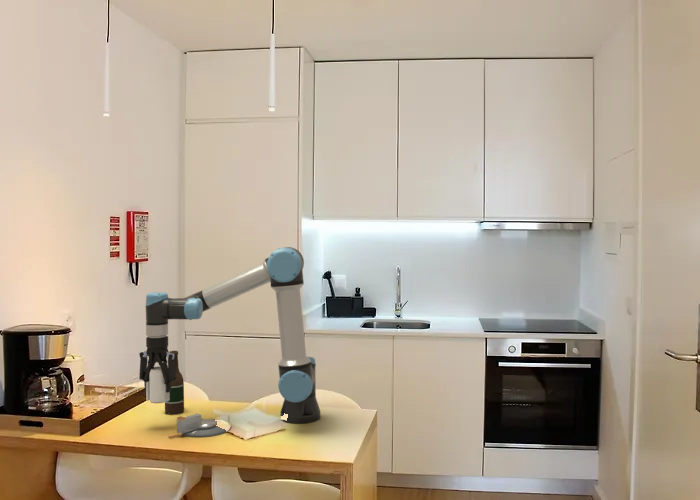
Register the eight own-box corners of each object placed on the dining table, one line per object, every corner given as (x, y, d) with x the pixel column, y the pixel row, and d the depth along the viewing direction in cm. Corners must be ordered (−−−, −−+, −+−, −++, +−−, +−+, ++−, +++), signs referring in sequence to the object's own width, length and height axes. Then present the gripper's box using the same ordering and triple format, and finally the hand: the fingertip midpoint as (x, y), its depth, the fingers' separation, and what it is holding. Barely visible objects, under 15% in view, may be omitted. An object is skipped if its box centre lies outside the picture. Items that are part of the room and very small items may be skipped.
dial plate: (240, 424, 228) (240, 421, 228) (214, 439, 211) (214, 436, 211) (197, 419, 234) (197, 416, 234) (168, 434, 217) (168, 431, 217)
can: (164, 403, 220) (164, 369, 220) (146, 403, 220) (146, 369, 220) (171, 399, 226) (170, 366, 226) (153, 399, 227) (153, 366, 227)
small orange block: (176, 435, 215) (176, 433, 215) (178, 436, 214) (178, 434, 214) (168, 437, 213) (168, 435, 213) (170, 438, 212) (170, 436, 212)
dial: (207, 420, 228) (206, 406, 228) (221, 424, 223) (221, 410, 223) (172, 431, 216) (172, 415, 216) (186, 435, 211) (186, 420, 211)
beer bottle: (187, 409, 248) (186, 349, 247) (180, 415, 240) (179, 353, 239) (168, 409, 248) (167, 349, 248) (160, 414, 241) (160, 353, 240)
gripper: (186, 335, 222) (187, 399, 223) (141, 333, 229) (141, 395, 229) (174, 339, 215) (175, 405, 216) (127, 336, 222) (128, 400, 222)
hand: (157, 400), depth 223 cm, fingers closed on can, 6 cm apart
